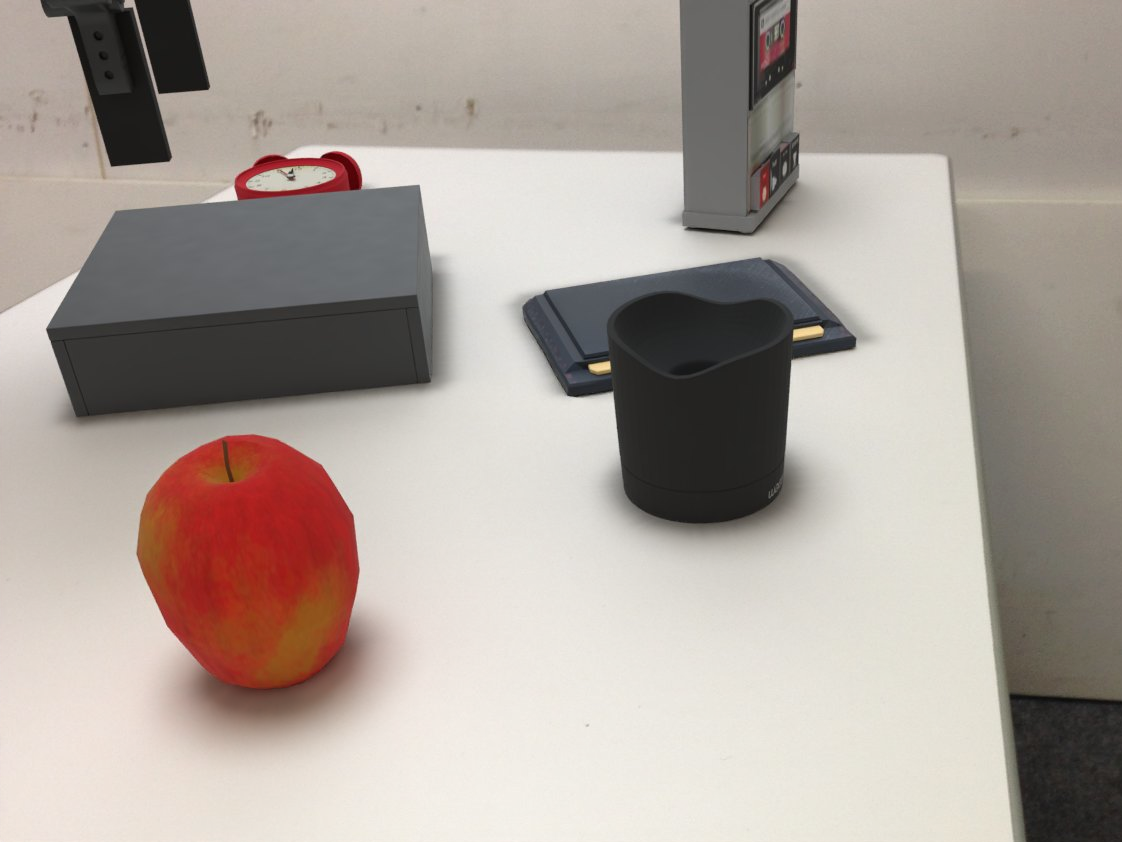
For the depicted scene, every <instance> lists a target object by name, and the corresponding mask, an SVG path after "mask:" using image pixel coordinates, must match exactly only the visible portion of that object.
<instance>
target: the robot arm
mask: <svg viewBox="0 0 1122 842" xmlns="http://www.w3.org/2000/svg"><path fill="white" fill-rule="evenodd" d="M39 1H40V5H41V8H42V10H43V13H44V14H45V17H47V18H62V17H67V20H68V25H69V27H70V32H71V35H72V38H73V42H74V45H75V48H76V52H77V55H78V58H79V62H80V66H81V69H82V71H83V72H82V73H83V76H84V79H85V83H86V86H87V89H88V93H89V97H90V101H91V103H92V107H93V110H94V114H95V117H96V120H97V124H98V127H99V130H100V134H101V138H102V141H103V144H104V148H105V151H106V155H107V158H108V161H109V165H110V168H113V167H125V166H126V167H127V166H136V165H147V164H148V165H149V164H150V165H151V164H160V163H170V162H171V160H172V159H173V155H172V151H171V146H170V143H169V140H168V136H167V132H166V129H165V125H164V120H163V116H162V113H161V109H160V106H159V101H158V98H157V94H158V95H165V94H176V93H177V94H178V93H188V92H189V93H191V92H201V91H209V90H210V88H211V83H210V80H209V75H208V71H207V67H206V63H205V59H204V58H205V57H204V54H203V49H202V46H201V41H200V37H199V33H198V29H197V24H196V20H195V16H194V12H193V11H194V10H193V8H192V4H191V0H133V2H134V6H135V9H136V13H137V17H138V20H139V25H140V27H139V25H138V21H137V17H136V14H135V10H134V7H133V6H131V7H125V2H126V0H39ZM139 28H140V29H141V33H142V36H143V39H142V36H141V33H140V29H139ZM143 40H144V43H145V48H146V50H145V48H144V44H143ZM145 51H146V52H147V55H148V59H149V63H150V66H151V70H150V67H149V63H148V59H147V56H146V52H145ZM151 71H152V74H153V78H154V82H155V86H156V89H157V93H156V89H155V86H154V82H153V78H152V75H151Z"/></svg>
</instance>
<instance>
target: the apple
mask: <svg viewBox="0 0 1122 842" xmlns="http://www.w3.org/2000/svg"><path fill="white" fill-rule="evenodd" d="M354 517H355V516H354V513H353V512H352V510H351V509H350V508H349V505H348V504H347V502H346V500H345V499H344V498H343V496H342V494H341V493H340V491H339V489H338V488H337V486H336V484H335V483H334V480H333V479H332V477H330V475H329V473H328V472H327V471H326V469H325V468H324V466H323V465H322V463H319V462H318V461H316V460H315V459H313V458H311V457H310V456H308V455H306V454H305V453H303V452H301V451H299V450H298V449H296V448H295V447H292V446H291V445H289V444H287V443H286V442H283V441H282V440H280V439H278V438H273V437H270V436H265V435H259V434H254V433H252V434H251V433H249V434H234V435H231V434H230V435H225V436H223V437H220V438H217V439H214V440H212V441H209V442H207V443H204V444H202V445H200V446H198V447H196V448H194V449H193V450H191V451H189V452H188V453H186V454H184V455H183V456H181V457H179V458H178V459H177V460H176V461H174V462H173V463H172V464H171V465H170V466H169V467H168V468H166V469H165V470H164V471H163V473H162V474H161V475H160V477H159V478H158V479H157V480H156V482H155V483H154V484H153V485H152V487H150V489H149V491H148V492H147V494H146V496H145V499H144V501H143V505H142V508H141V511H140V515H139V525H138V535H137V545H136V553H135V555H136V557H137V560H138V563H139V566H140V569H141V572H142V575H143V577H144V580H145V581H146V584H147V586H148V589H149V590H150V593H151V594H152V597H153V599H154V601H155V603H156V605H157V608H158V609H159V612H160V614H161V616H162V618H163V621H164V622H165V623H164V624H165V625H166V627H167V628H168V630H170V632H171V633H172V634H173V635H174V636H175V638H176V639H178V641H179V642H180V643H181V644H182V645H183V647H184V648H185V649H186V651H188V652H189V653H190V654H191V655H192V657H193V658H194V659H195V660H196V661H197V662H198V664H199V665H200V666H201V667H202V668H203V669H204V670H205V671H206V672H208V673H209V674H210V675H211V676H213V677H214V678H215V679H217V680H219V681H220V682H221V683H225V684H230V685H234V686H238V687H244V688H248V689H256V690H257V689H258V690H267V689H284V688H288V687H291V686H295V685H298V684H301V683H304V682H306V681H307V680H308V679H310V678H311V677H313V676H315V675H316V674H318V673H320V672H321V671H322V670H323V669H324V667H325V666H326V665H327V664H328V663H329V662H330V660H331V659H332V658H333V657H334V656H335V655H336V653H338V651H339V650H340V649H341V648H342V647H343V645H344V644H345V642H346V637H347V633H348V630H349V625H350V621H351V617H352V613H353V608H354V604H355V600H356V596H357V592H358V584H359V579H360V572H361V568H360V560H359V552H358V543H357V534H356V526H355V518H354Z"/></svg>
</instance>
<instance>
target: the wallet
mask: <svg viewBox="0 0 1122 842" xmlns="http://www.w3.org/2000/svg"><path fill="white" fill-rule="evenodd" d="M658 291H679V292H684V293H688V294H692V295H695V296H698V297H702V298H705V299H709V300H713V301H719V302H736V301H742V300H748V299H753V298H763V297H764V298H772V299H774V300H777V301H779V302H781V303H783V304H784V305H785V306H786V307H787V308H788V309H789V310H790V311H791V313H792V315H793V318H794V332H793V347H792V359H795V358H801V357H808V356H812V355H819V354H825V353H830V352H831V353H832V352H836V351H837V352H838V351H841V350H842V351H843V350H847V349H853V348H855V347H857V337H856V336H855V335H854V334H853V333H852V332H851V331H850V330H848V329H847V327H846V326H845V325H844V323H843V322H842V321H841V320H840V318H838V316H837V315H836V314H834V312H833V311H832V310H831V309H830V308H828V306H827V305H826V304H824V302H823V301H822V300H821V299H820V298H819V297H818V296H817V295H816V294H815V293H814V292H813V291H812V290H811V289H810V288H809V287H808V286H807V285H805V283H804V282H803V281H802V280H801V279H800V278H798V277H797V276H796V275H795V273H793V271H791V270H790V269H789V268H788V267H787V266H785V265H784V264H782V263H780V262H778V261H775V260H773V259H770V258H769V259H767V258H766V259H762V257H760V256H759V257H753V258H752V257H751V258H747V259H738V260H733V261H726V262H721V263H720V262H719V263H714V264H708V265H701V266H700V265H699V266H694V267H688V268H682V269H676V270H669V271H663V272H655V273H649V274H643V275H642V274H641V275H637V276H631V277H624V278H623V277H622V278H618V279H610V280H604V281H599V282H597V281H596V282H592V283H585V284H579V285H578V284H577V285H572V286H565V287H559V288H552V289H546V290H545V291H544V292H543V293H542V294H537V295H534V296H533V297H532V298H529V299H528V300H527V301H526V302H525V303H524V304H523V305H522V306H521V309H522V316H523V318H524V320H525V323H526V325H527V327H528V329H529V330H530V332H531V333H532V335H533V337H534V338H535V340H536V342H537V343H538V345H539V346H540V348H541V350H542V352H543V354H544V355H545V357H546V359H547V361H548V363H549V364H550V366H551V368H552V370H553V372H554V374H555V376H556V377H557V379H558V381H559V382H560V384H561V385H562V387H563V389H564V391H565V392H566V395H567V396H568V397H577V396H584V395H591V394H596V393H602V392H609V391H613V386H612V376H611V367H610V357H609V347H608V338H607V322H608V319H609V317H610V316H611V314H612V313H613V312H614V311H615V310H616V309H617V308H619V307H620V306H621V305H623V304H625V303H626V302H628V301H630V300H632V299H634V298H637V297H639V296H642V295H645V294H648V293H652V292H658Z"/></svg>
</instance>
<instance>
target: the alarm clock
mask: <svg viewBox="0 0 1122 842" xmlns="http://www.w3.org/2000/svg"><path fill="white" fill-rule="evenodd" d="M362 187H363V174H362V171H361V168H360V166H359V164H358V162H357V161H356V160H355V158H353V157H352V156H351V155H349V154H348V153H346V152H343V151H340V150H333V151H328V152H324V153H323V154H321V156H320V157H295V158H294V157H293V158H288V157H286V156H284V155H281V154H275V153H274V154H273V153H272V154H267V155H264V156H261V157H259V158H258V159H257V160H256V161H255V162H254V163H253V165H252V167H249V168H247V169H245V170H243V171H241V172H239V174H237V175H236V177H235V178H234V186H233V188H234V191H235V194H236V198H237V199H236V200H247V199H259V198H270V197H282V196H293V195H305V194H317V193H328V192H340V191H351V190H362Z"/></svg>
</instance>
